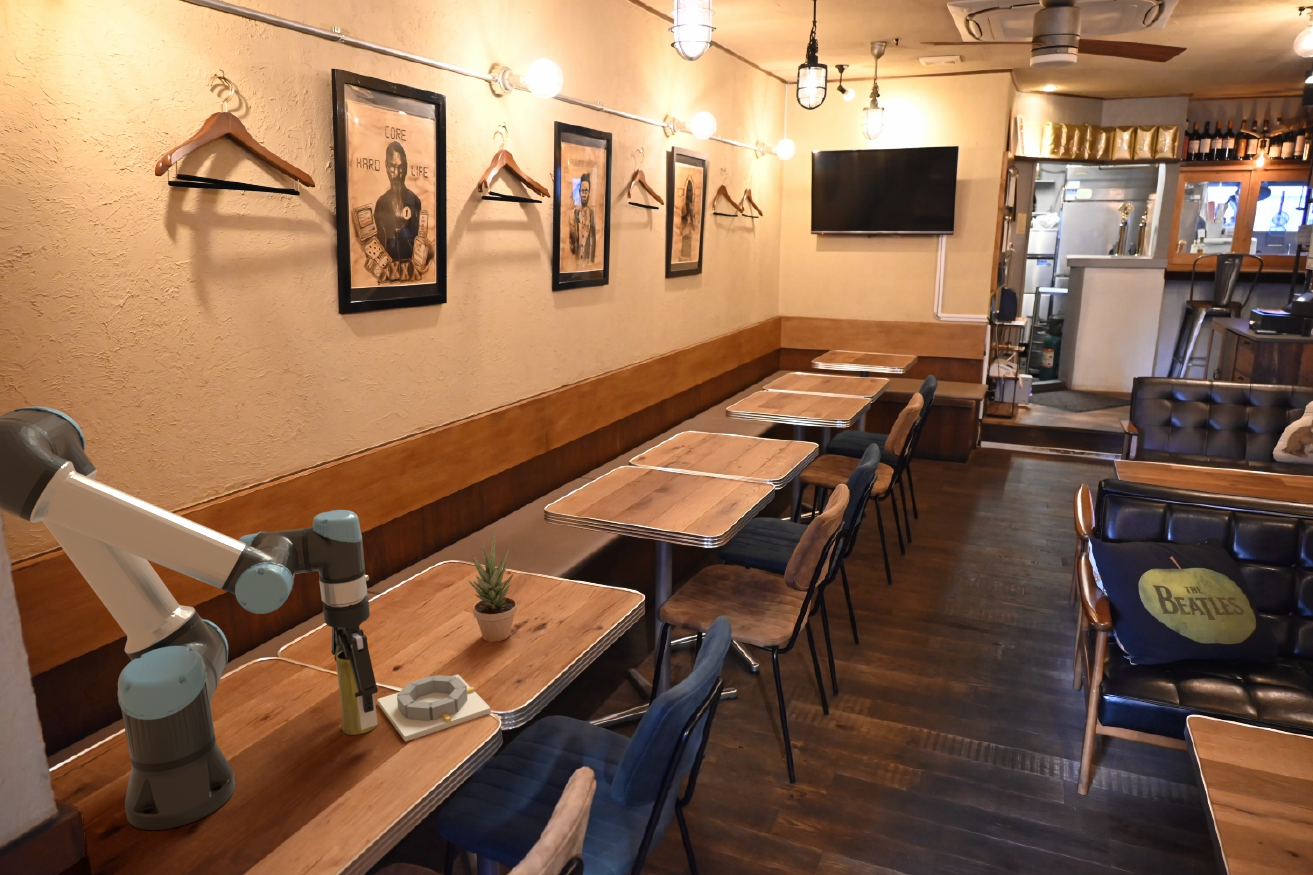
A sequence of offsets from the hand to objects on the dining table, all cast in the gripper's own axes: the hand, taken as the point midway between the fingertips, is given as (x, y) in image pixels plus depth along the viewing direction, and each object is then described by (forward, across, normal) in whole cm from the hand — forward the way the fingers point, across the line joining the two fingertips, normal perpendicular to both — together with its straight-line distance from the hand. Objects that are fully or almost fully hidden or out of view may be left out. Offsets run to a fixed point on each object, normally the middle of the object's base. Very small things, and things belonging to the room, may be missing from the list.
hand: (358, 709), depth 157 cm
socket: (+3, -2, -13) cm, 14 cm away
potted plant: (+3, +20, -35) cm, 41 cm away
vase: (+3, 0, 0) cm, 3 cm away
